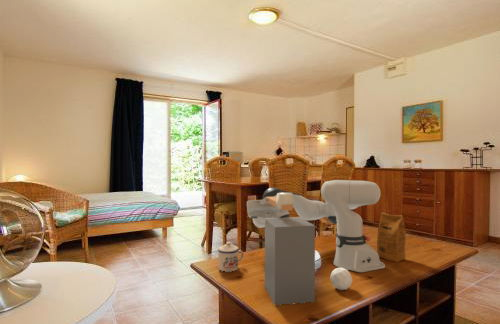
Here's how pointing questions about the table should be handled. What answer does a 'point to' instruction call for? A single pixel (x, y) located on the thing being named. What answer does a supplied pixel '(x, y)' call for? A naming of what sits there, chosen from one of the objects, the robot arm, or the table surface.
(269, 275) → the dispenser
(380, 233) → the coffee package
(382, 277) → the table surface
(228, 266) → the teacup with lid
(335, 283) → the geometric ball
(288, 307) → the table surface
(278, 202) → the wooden handled brush
